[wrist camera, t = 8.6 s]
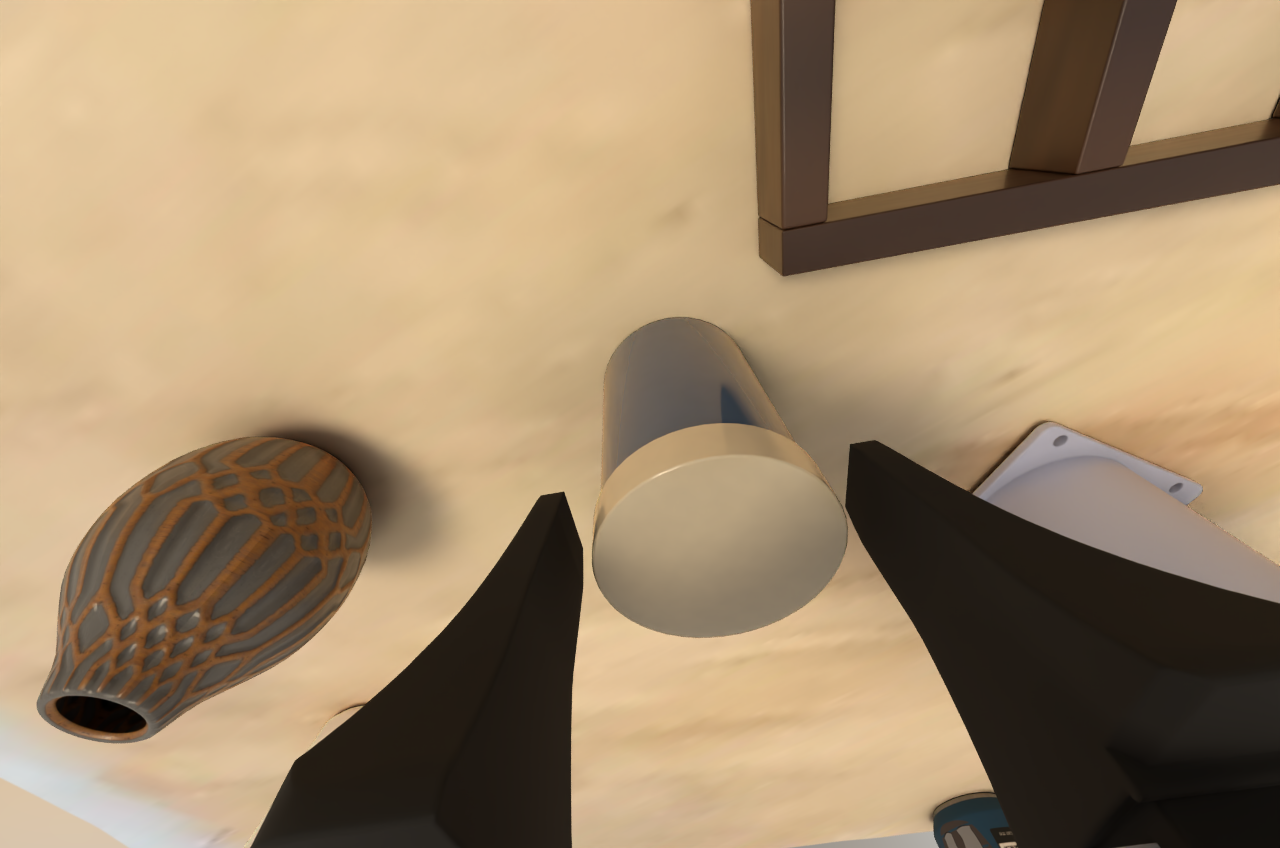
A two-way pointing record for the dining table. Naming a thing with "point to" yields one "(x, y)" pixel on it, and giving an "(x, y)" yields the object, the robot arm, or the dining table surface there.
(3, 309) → the dining table surface
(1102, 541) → the robot arm
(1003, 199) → the jar stand
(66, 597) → the vase
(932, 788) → the dining table surface
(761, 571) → the jar
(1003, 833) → the soda can
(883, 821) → the dining table surface
